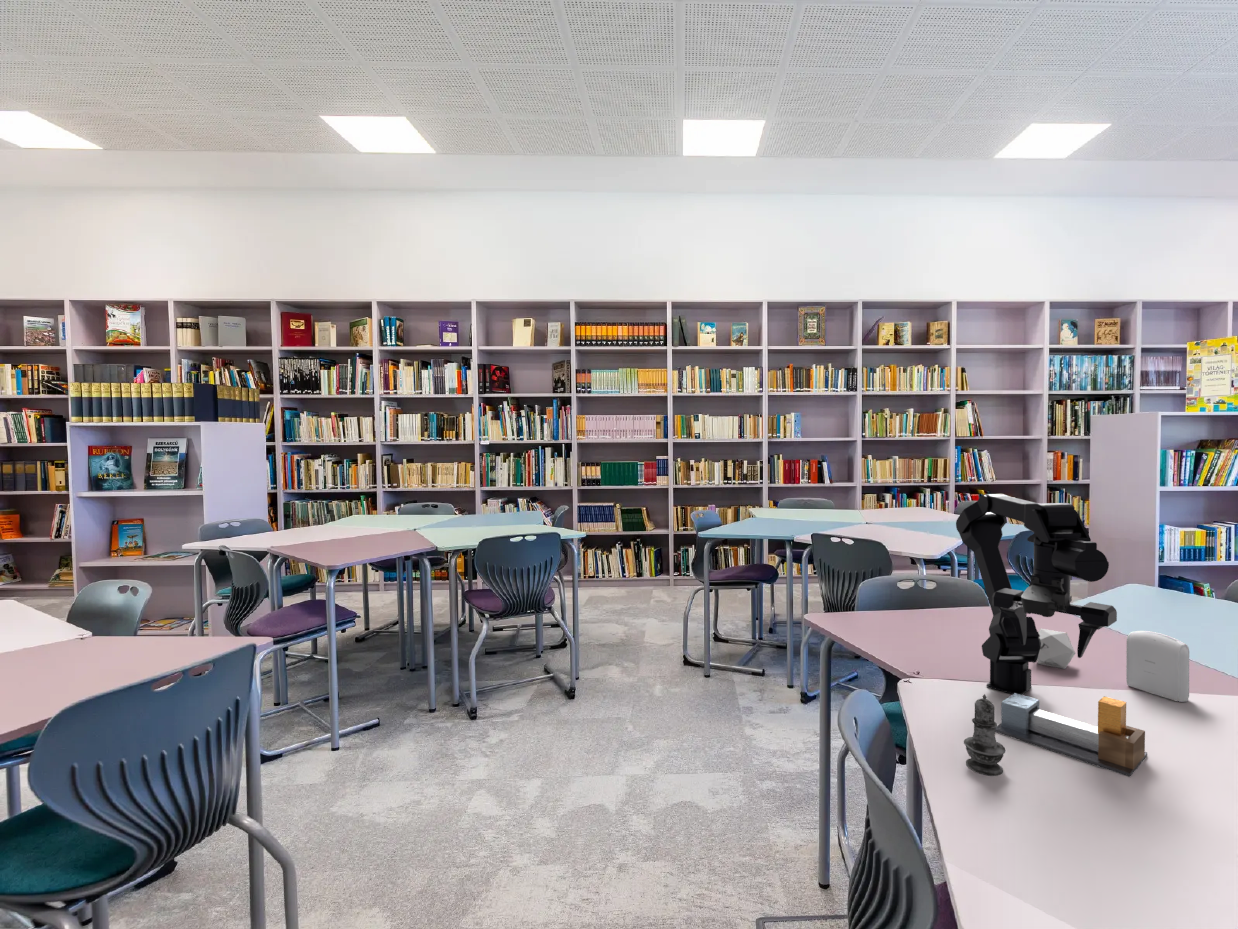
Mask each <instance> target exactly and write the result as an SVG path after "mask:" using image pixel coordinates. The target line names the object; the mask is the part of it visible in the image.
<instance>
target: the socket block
mask: <svg viewBox="0 0 1238 929" xmlns="http://www.w3.org/2000/svg"><path fill="white" fill-rule="evenodd" d="M1126 735H1128V736H1130V737H1129V738H1128V739H1127V738H1123V737H1120V736H1117V735H1113V734H1110V733H1106V732H1103V731H1100V732H1099V741H1098V758H1099V759H1102V760H1105V761H1108V762H1111V763H1114V764H1117V765H1120V766H1124V767H1127V768H1130V769H1134V768H1135V767H1136V766H1137V764H1138V763H1139V762H1140V761H1141V760H1142V758H1143V757H1144V756H1145V752H1146V743H1145V742H1146V730H1144V729H1140V728H1136V727H1132V726H1129V725H1126Z"/></svg>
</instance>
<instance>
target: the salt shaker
mask: <svg viewBox="0 0 1238 929" xmlns="http://www.w3.org/2000/svg"><path fill="white" fill-rule="evenodd" d="M981 697H982V698H978V699H977V700H975V702H974V717H973V718H971V722H972V724H973V735H972V736H969V737H966V738H965V739H964V740H963V744H964V746H965V749H966V752H967V754H968V756H969V758H967V759H966V761H965V766H966V767H967V768H968V769H969V770H971V771H973V772H975V773H976V774H981V775H984V776H990V777H996V776H997V777H998V776H1001V775H1003V774H1004V768H1003V767H1002V766H1001V765H1000V764H999V763H1000V762H1001V761H1002V759H1003V758H1004V754H1006V750H1007V748H1005V746H1004V745H1003V744H1001V743H1000V742H999V741H997V739H996V732H995V727H997V726H998V723H997V722H996V720H995V719H996V718H995V717H996V714H995V713H996V712H995V711H996V710H995V709H996V708H995V704H994V703H993V702H992V701H990V700H989V699H987V698H988V696H987V695H986V694H985V693H984V694H982V696H981Z"/></svg>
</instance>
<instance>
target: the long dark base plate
mask: <svg viewBox="0 0 1238 929" xmlns="http://www.w3.org/2000/svg"><path fill="white" fill-rule="evenodd" d="M1040 702H1041V701H1040V699H1038V698H1035V697H1031V696H1028V695H1024V694H1023V695H1021V694H1017V693H1014V694H1011V695H1009V696H1008V697H1007V698H1005V699H1004V700H1002V701H1001V709H1000V710H1001V712H1000V713H1001V717H1000V718H1001V719H1000V721H1001V722H1000V723H999V724H997V727H995V733H997V734H1000V735H1003V736H1006V737H1008V738H1012V739H1015V740H1018V741H1020V742H1021V741H1022V742H1023V743H1027V744H1029V745H1033V746H1035V747H1039V748H1042V749H1045V750H1048V751H1052V752H1054V753H1057V754H1061V755H1063V756H1066V757H1069V758H1072V759H1073V760H1078V761H1080V762H1084V763H1087V764H1090V765H1093V766H1095V767H1099V768H1102V769H1105V770H1108V771H1111V772H1113V773H1117V774H1120V775H1123V776H1125V777H1128V778H1131V777H1132V775H1133V774H1134V773H1135V772H1136V770H1138V768H1139V767H1140V765H1141V764H1142V763H1143V762H1144V761H1145V760H1146V758H1147V757H1148V752H1147V751H1145V756H1144V757H1143V758H1142V760H1141V761H1140V762H1139V763H1138V764H1137V766H1136V767H1135V768H1134V769H1130V768H1127V767H1124V766H1120V765H1117V764H1114V763H1111V762H1108V761H1105V760H1102V759H1099V758H1098V752H1097V751H1094V750H1091V749H1088V748H1085V747H1082V746H1079V745H1076V744H1072V743H1069V742H1066V741H1063V740H1060V739H1057V738H1054V737H1050V736H1047V735H1044V734H1041V733H1038V732H1035V731H1032V730H1029V729H1028V712H1029V711H1030V710H1031V709H1033V708H1036V709H1039V710H1040Z"/></svg>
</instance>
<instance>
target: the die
mask: <svg viewBox="0 0 1238 929" xmlns="http://www.w3.org/2000/svg"><path fill="white" fill-rule="evenodd" d="M1037 632H1038V633H1039V635H1040V637H1039V638H1040V641H1041V648H1040V651H1039V654H1038V658H1037V661H1036V663H1037V664H1038V665H1042V666H1046V667H1052V668H1057V669H1063V670H1066V668H1067V667H1068V665H1069V664H1070V662H1071V661H1072V659H1073V658H1074V656H1075V655H1076V652H1075V649H1074V646H1073V644H1072V641H1071V639H1070V636H1069V634H1068V632H1064V631H1060V630H1059V631H1057V630H1052V629H1047V628H1039V630H1037Z"/></svg>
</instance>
